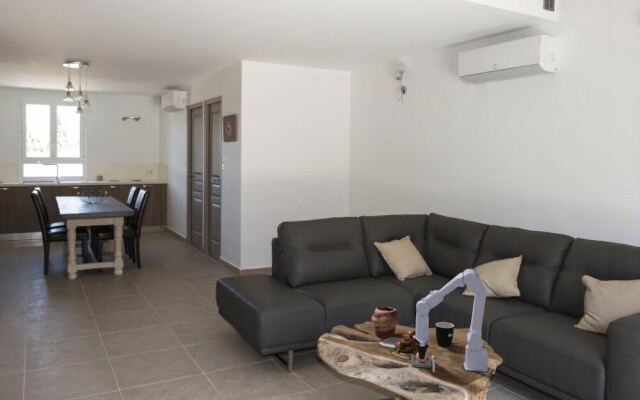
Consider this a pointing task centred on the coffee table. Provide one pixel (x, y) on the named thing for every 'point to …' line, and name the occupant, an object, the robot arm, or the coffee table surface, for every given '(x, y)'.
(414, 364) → the dish
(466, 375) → the coffee table surface
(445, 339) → the mug
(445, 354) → the coffee table surface
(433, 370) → the acrylic wall
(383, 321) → the decorative planter
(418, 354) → the ball
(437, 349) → the coffee table surface
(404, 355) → the bear figurine
